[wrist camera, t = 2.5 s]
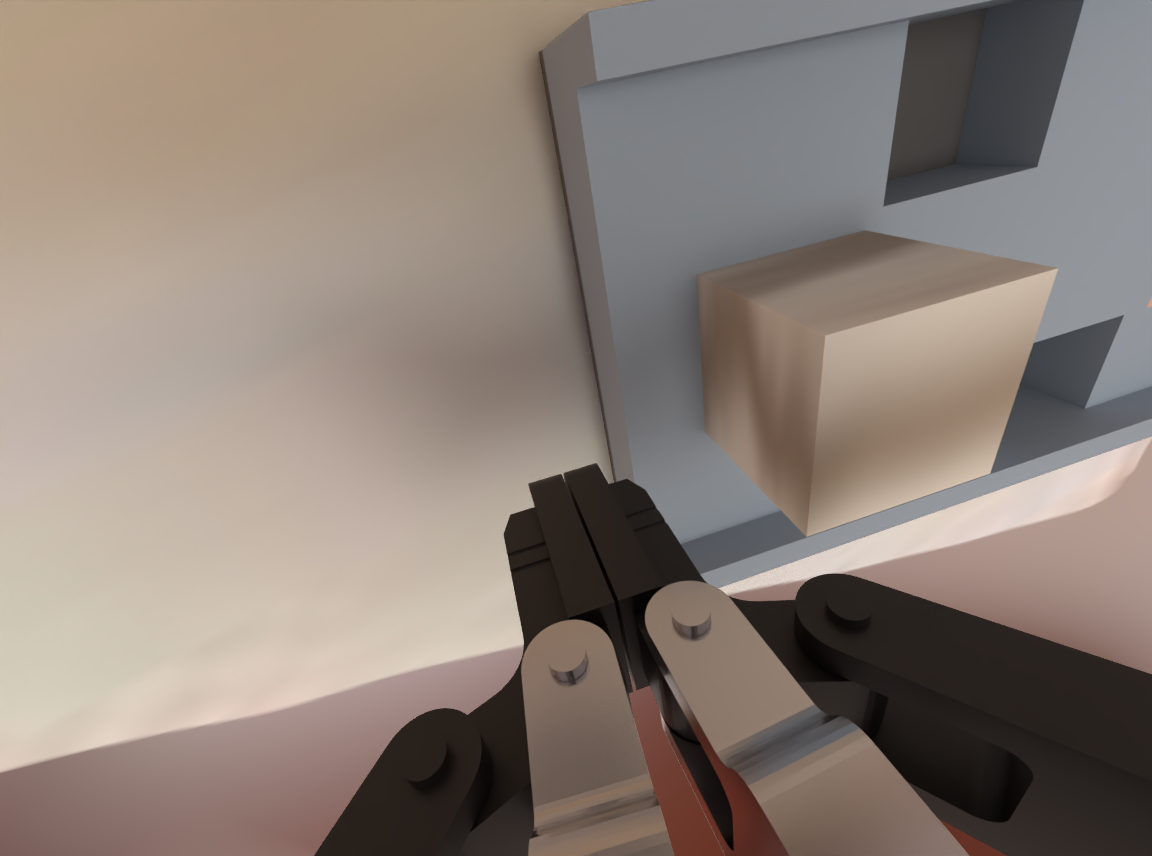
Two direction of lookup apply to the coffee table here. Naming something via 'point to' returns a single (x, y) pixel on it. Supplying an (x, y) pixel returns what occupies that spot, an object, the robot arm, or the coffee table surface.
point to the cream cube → (865, 369)
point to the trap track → (852, 211)
